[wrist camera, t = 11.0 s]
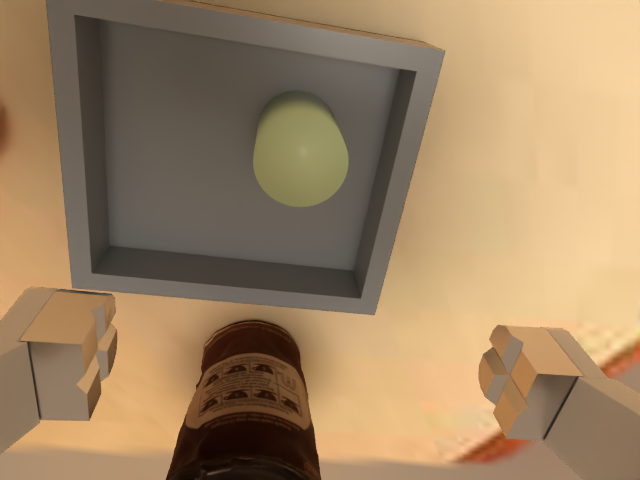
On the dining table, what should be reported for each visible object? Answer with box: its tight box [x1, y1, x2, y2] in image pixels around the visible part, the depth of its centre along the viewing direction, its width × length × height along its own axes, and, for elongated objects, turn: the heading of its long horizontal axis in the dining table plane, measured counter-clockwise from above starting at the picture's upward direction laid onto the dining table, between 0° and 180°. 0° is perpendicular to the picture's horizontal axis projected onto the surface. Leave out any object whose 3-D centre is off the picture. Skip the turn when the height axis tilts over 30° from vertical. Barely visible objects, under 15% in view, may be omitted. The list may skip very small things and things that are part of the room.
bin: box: [46, 0, 445, 315], centre depth 24 cm, size 16×14×4 cm
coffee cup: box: [166, 322, 321, 480], centre depth 26 cm, size 9×8×13 cm
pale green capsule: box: [253, 91, 349, 207], centre depth 22 cm, size 4×4×5 cm
